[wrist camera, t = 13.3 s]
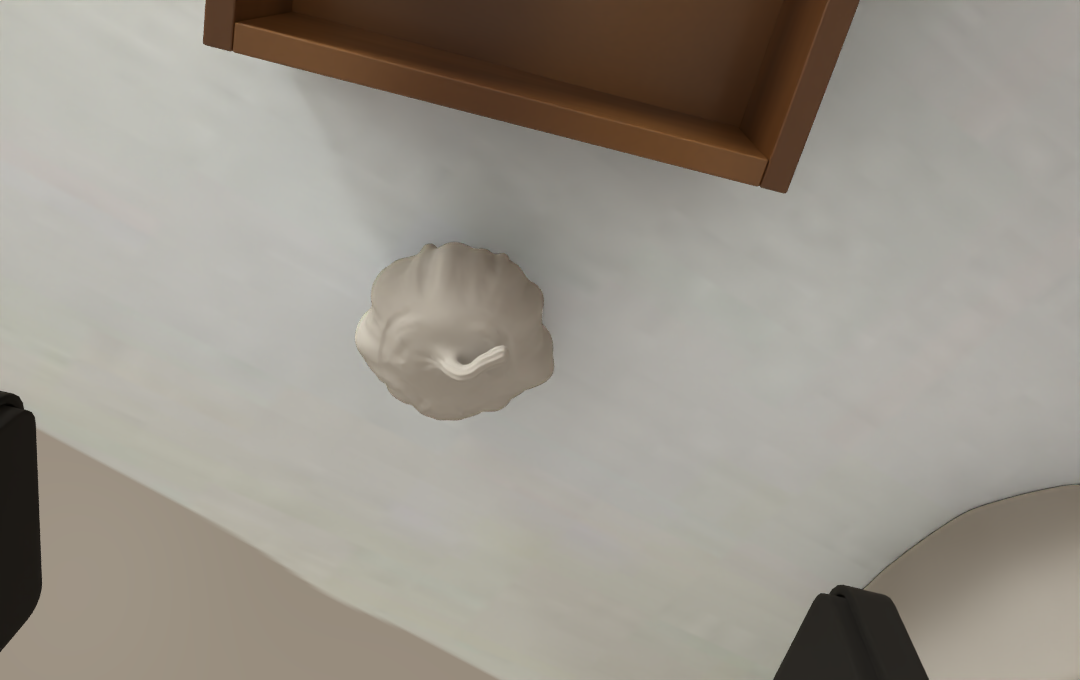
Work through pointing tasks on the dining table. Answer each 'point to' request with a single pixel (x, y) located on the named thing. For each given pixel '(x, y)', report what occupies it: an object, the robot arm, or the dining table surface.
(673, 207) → the dining table surface
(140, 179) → the dining table surface
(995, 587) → the lumpy-topped squat cylinder
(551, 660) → the dining table surface
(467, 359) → the garlic
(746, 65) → the wooden tray
